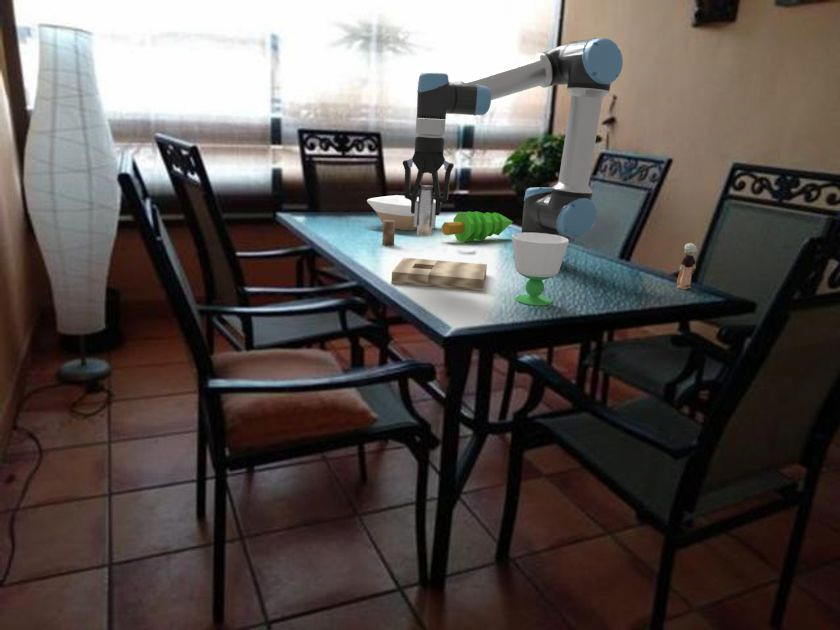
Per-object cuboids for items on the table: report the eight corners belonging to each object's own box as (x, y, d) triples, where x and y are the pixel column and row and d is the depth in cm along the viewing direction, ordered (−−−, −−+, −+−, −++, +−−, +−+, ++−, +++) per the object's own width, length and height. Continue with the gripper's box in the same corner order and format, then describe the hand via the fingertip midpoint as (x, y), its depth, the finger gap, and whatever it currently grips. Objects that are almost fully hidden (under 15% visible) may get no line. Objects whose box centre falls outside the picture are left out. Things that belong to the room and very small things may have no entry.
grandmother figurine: (680, 284, 182) (688, 240, 178) (694, 286, 180) (702, 242, 176) (671, 288, 176) (679, 243, 173) (685, 291, 174) (693, 246, 170)
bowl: (445, 227, 254) (447, 200, 251) (412, 235, 234) (413, 206, 231) (396, 220, 266) (397, 194, 263) (360, 226, 246) (361, 199, 243)
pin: (432, 233, 173) (435, 185, 169) (430, 236, 169) (433, 187, 165) (417, 232, 174) (420, 184, 170) (415, 235, 170) (418, 186, 166)
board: (486, 274, 181) (486, 264, 181) (482, 290, 164) (483, 279, 164) (403, 267, 185) (403, 257, 184) (391, 282, 168) (391, 271, 167)
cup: (554, 294, 165) (561, 233, 160) (567, 309, 152) (575, 244, 147) (501, 292, 164) (507, 231, 159) (510, 307, 151) (517, 242, 146)
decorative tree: (441, 206, 223) (509, 201, 237) (434, 234, 230) (500, 227, 244) (458, 223, 216) (526, 217, 230) (450, 251, 223) (517, 243, 237)
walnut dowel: (395, 243, 218) (395, 220, 215) (392, 245, 214) (393, 222, 212) (383, 242, 218) (384, 219, 216) (381, 244, 215) (381, 221, 212)
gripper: (464, 138, 166) (457, 226, 173) (400, 134, 168) (396, 222, 175) (461, 138, 159) (454, 231, 166) (394, 134, 161) (390, 226, 168)
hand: (424, 226), depth 171 cm, fingers closed on pin, 4 cm apart
